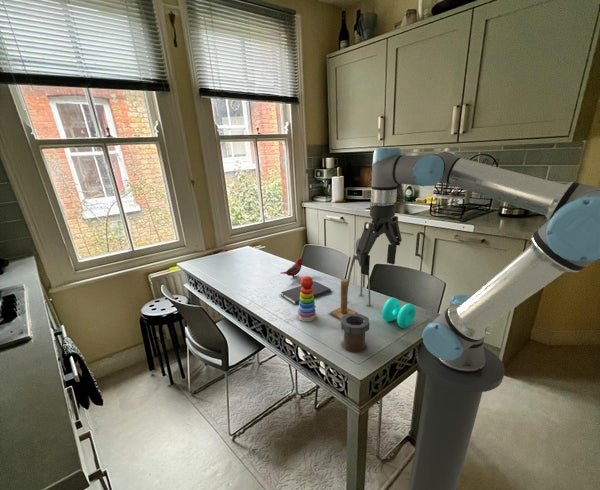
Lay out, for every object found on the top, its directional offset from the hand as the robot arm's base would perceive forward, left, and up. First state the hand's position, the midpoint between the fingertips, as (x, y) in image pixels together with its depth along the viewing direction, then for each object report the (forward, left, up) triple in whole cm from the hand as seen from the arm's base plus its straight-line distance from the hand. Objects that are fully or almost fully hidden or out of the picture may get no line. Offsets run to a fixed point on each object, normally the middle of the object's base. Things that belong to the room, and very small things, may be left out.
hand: (378, 268), depth 105 cm
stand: (+3, +7, -29) cm, 30 cm away
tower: (+21, -7, -29) cm, 36 cm away
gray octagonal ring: (+3, +7, -21) cm, 22 cm away
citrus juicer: (+23, -21, -29) cm, 42 cm away
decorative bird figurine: (+67, -16, -29) cm, 74 cm away
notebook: (+48, -9, -29) cm, 56 cm away
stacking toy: (+30, +6, -29) cm, 42 cm away
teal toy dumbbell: (+1, -17, -29) cm, 33 cm away
